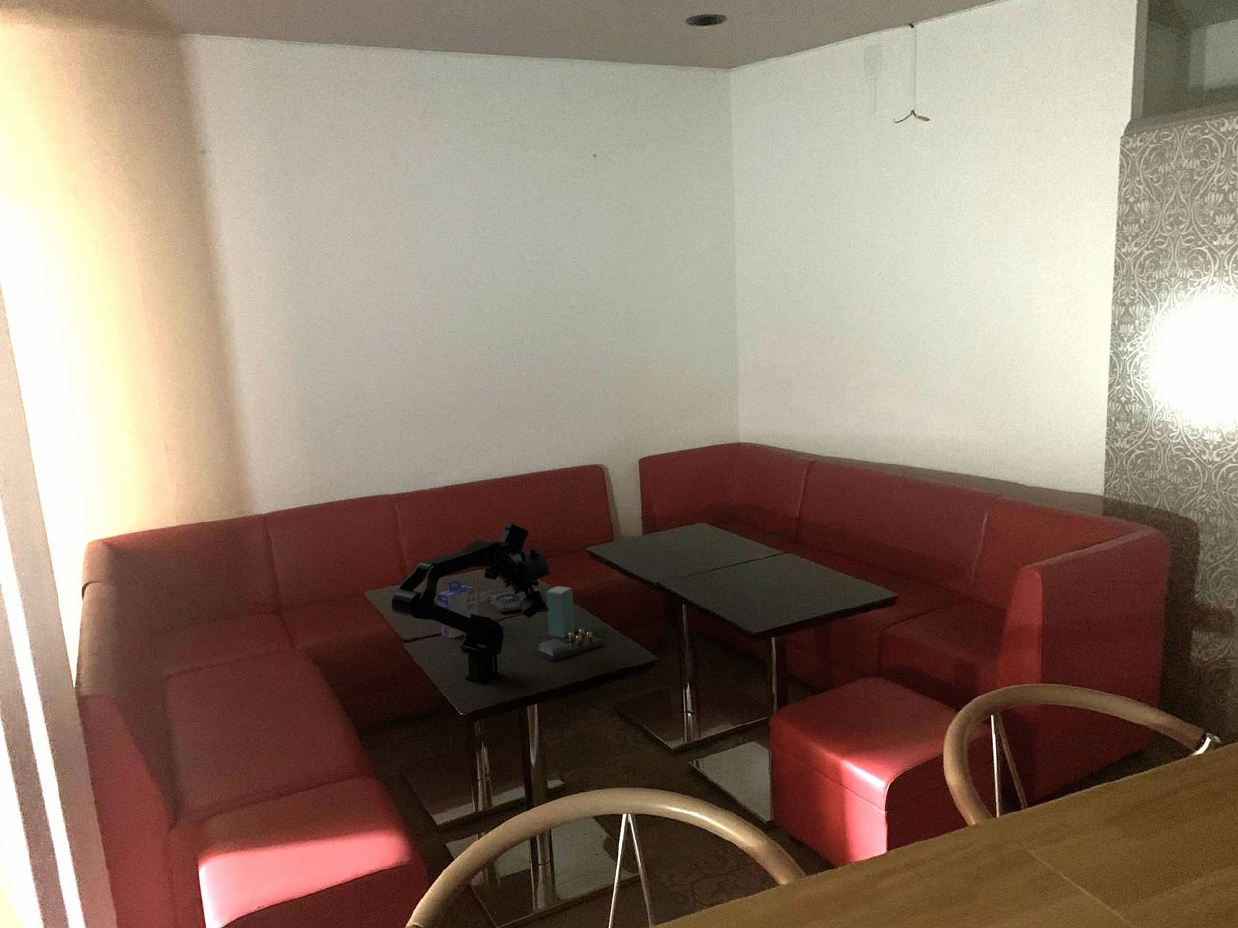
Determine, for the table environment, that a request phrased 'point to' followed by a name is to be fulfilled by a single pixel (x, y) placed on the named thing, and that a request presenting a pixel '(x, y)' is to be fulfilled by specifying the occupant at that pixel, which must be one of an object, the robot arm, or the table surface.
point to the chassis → (567, 646)
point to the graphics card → (503, 599)
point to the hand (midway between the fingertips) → (542, 597)
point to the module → (560, 611)
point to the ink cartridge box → (458, 604)
